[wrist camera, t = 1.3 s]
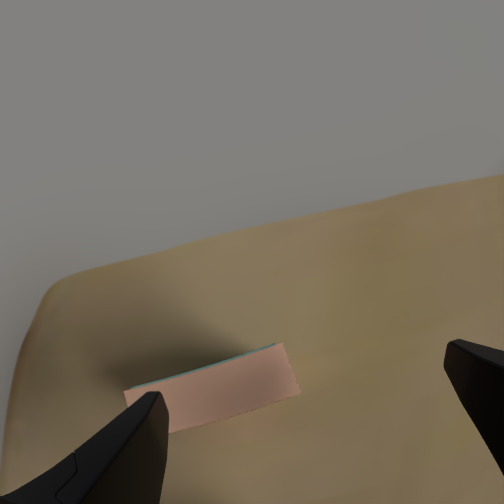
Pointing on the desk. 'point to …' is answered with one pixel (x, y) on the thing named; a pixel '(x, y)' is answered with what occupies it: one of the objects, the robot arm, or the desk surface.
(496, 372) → the robot arm
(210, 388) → the tile
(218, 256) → the desk surface
